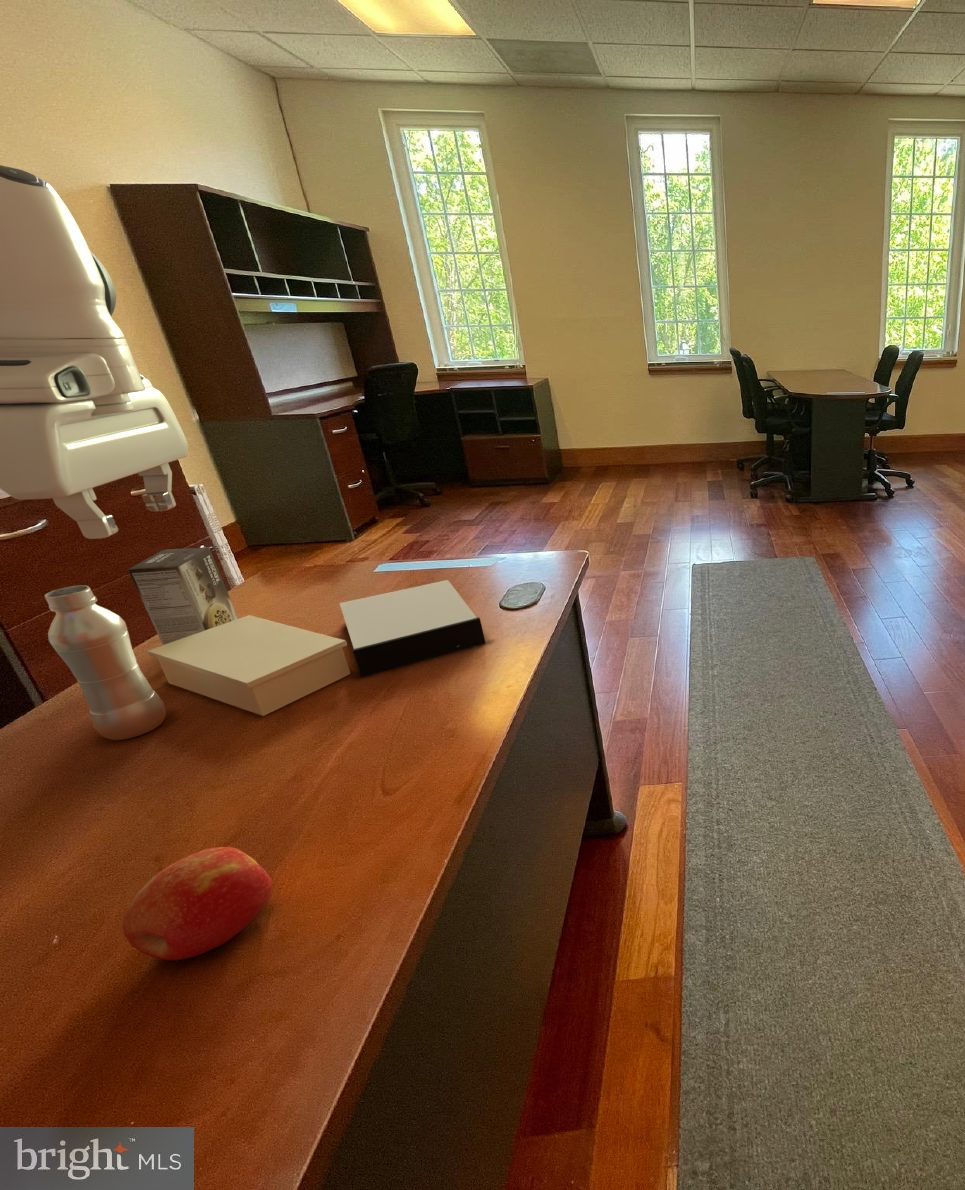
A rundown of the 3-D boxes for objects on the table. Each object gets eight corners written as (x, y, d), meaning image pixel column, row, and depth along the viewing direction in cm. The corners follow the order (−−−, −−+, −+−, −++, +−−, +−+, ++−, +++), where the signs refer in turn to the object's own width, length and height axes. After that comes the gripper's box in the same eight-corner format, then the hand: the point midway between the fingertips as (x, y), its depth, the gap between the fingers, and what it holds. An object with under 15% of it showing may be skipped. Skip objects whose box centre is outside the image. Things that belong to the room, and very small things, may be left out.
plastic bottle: (88, 750, 76) (6, 605, 68) (126, 720, 82) (55, 583, 74) (151, 742, 78) (79, 599, 70) (184, 713, 84) (120, 578, 76)
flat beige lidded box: (163, 686, 90) (146, 650, 87) (261, 647, 101) (249, 614, 98) (262, 721, 82) (246, 683, 80) (356, 675, 93) (345, 640, 91)
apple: (297, 913, 55) (267, 848, 52) (182, 998, 48) (140, 928, 45) (245, 884, 58) (214, 820, 55) (130, 960, 51) (86, 891, 48)
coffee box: (200, 638, 103) (162, 549, 97) (246, 633, 105) (211, 545, 99) (168, 664, 95) (124, 568, 89) (218, 658, 97) (178, 564, 91)
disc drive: (361, 679, 92) (352, 650, 90) (345, 627, 108) (337, 601, 106) (486, 645, 102) (480, 618, 100) (454, 602, 118) (448, 578, 116)
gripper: (102, 367, 63) (157, 498, 68) (-84, 382, 45) (11, 558, 50) (178, 366, 64) (226, 494, 70) (28, 381, 47) (108, 551, 52)
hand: (135, 522), depth 60 cm, fingers open, 8 cm apart
